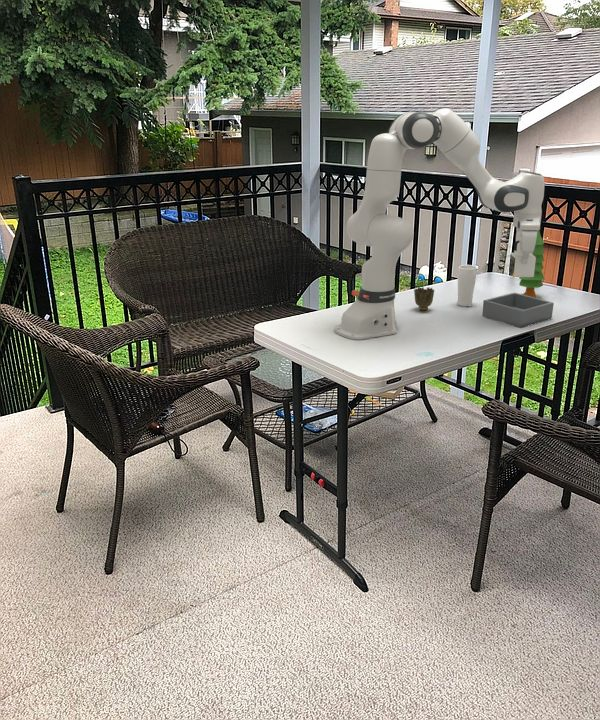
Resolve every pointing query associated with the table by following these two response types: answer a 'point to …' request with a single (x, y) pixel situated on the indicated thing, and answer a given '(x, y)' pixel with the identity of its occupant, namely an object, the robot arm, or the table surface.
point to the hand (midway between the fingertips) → (522, 260)
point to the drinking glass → (466, 284)
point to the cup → (423, 297)
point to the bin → (517, 309)
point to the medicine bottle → (517, 267)
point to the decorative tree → (538, 275)
